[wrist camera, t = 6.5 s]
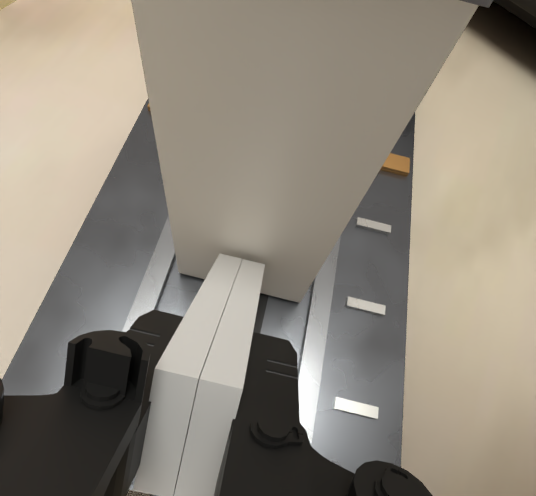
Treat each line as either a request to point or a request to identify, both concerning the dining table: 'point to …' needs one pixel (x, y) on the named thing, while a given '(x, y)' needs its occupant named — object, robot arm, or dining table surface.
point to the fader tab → (282, 118)
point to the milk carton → (5, 3)
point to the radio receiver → (521, 9)
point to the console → (269, 307)
